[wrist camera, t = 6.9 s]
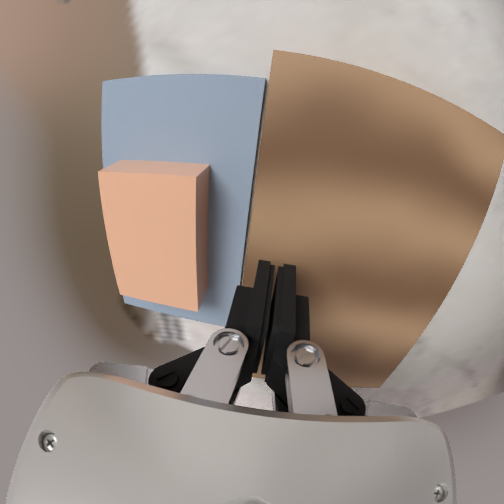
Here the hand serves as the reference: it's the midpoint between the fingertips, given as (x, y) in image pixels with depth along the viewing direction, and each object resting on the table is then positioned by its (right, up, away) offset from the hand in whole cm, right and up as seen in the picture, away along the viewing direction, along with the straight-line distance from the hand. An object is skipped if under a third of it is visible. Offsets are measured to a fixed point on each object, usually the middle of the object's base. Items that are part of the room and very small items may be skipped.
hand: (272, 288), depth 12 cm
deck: (+5, +2, +4) cm, 7 cm away
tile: (-7, +3, +4) cm, 8 cm away
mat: (-6, +4, +5) cm, 9 cm away
